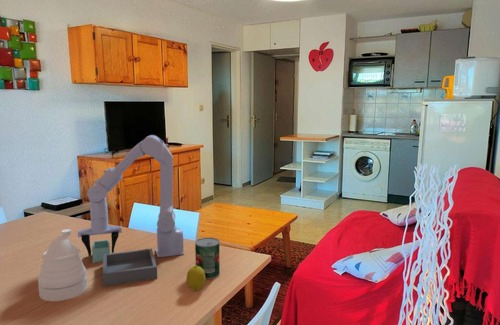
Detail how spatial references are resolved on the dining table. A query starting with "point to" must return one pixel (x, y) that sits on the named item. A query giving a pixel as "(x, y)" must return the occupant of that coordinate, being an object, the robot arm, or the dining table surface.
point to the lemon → (196, 278)
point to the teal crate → (100, 250)
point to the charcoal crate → (129, 267)
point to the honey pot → (62, 271)
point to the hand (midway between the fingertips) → (101, 253)
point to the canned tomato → (208, 256)
